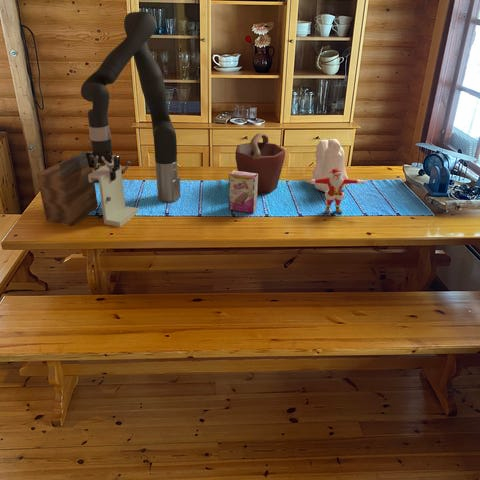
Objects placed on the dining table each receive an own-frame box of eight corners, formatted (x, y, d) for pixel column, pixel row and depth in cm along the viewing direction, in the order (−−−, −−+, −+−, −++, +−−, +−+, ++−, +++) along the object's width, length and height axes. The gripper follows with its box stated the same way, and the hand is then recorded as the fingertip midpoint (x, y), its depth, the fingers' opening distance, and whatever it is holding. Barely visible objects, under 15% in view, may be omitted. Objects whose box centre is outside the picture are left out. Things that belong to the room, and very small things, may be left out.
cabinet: (98, 207, 203) (90, 150, 191) (71, 225, 188) (60, 165, 176) (74, 203, 206) (64, 147, 194) (46, 221, 191) (34, 161, 179)
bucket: (266, 201, 211) (268, 146, 199) (223, 191, 220) (223, 138, 208) (289, 183, 229) (292, 132, 217) (248, 175, 239) (250, 125, 227)
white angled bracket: (138, 212, 199) (133, 166, 190) (120, 226, 187) (114, 178, 178) (114, 208, 202) (108, 163, 193) (94, 222, 191) (87, 174, 181)
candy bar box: (228, 210, 202) (228, 173, 194) (232, 205, 206) (232, 169, 198) (253, 214, 199) (254, 177, 191) (257, 209, 203) (258, 173, 195)
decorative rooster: (350, 197, 216) (357, 143, 204) (315, 197, 215) (320, 143, 204) (338, 177, 238) (344, 127, 226) (306, 177, 237) (311, 127, 226)
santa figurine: (303, 214, 200) (307, 171, 191) (302, 208, 205) (305, 166, 196) (363, 214, 200) (370, 172, 191) (360, 208, 205) (366, 167, 196)
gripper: (122, 136, 181) (126, 178, 189) (90, 132, 185) (95, 173, 193) (111, 142, 175) (116, 185, 183) (78, 137, 179) (84, 180, 187)
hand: (105, 179), depth 188 cm, fingers open, 6 cm apart
